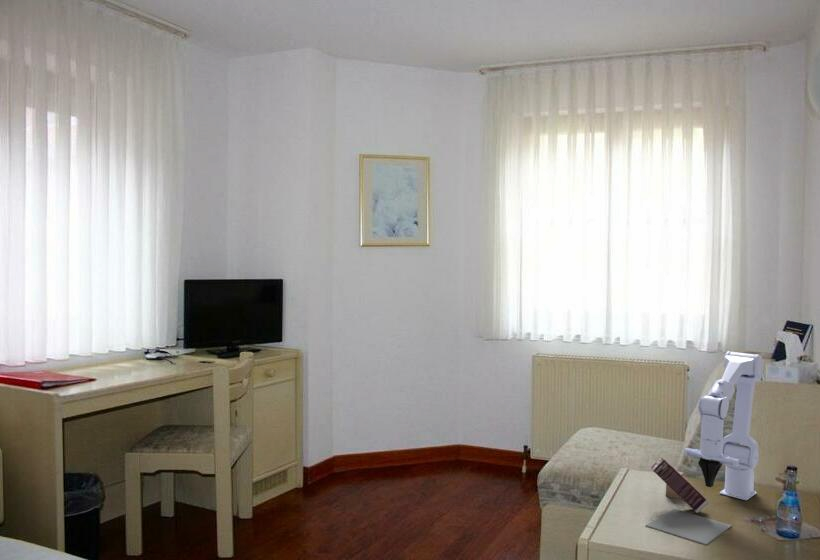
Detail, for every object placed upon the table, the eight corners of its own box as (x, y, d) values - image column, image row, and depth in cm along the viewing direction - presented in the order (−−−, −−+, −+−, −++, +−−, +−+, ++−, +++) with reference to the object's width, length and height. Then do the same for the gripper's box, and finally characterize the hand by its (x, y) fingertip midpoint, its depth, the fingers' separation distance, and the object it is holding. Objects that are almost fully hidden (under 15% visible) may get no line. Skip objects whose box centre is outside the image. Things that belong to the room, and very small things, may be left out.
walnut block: (668, 492, 211) (669, 469, 211) (682, 495, 209) (683, 472, 208) (665, 495, 207) (666, 473, 207) (679, 498, 205) (680, 475, 205)
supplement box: (709, 501, 189) (664, 459, 193) (697, 514, 189) (652, 471, 194) (704, 497, 197) (661, 456, 202) (692, 509, 197) (649, 468, 202)
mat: (673, 509, 196) (673, 508, 196) (731, 526, 185) (731, 525, 185) (645, 526, 183) (645, 525, 183) (706, 545, 172) (706, 543, 172)
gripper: (680, 435, 195) (678, 482, 195) (733, 446, 185) (731, 496, 185) (690, 431, 200) (688, 477, 201) (742, 442, 190) (740, 490, 190)
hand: (709, 486), depth 193 cm, fingers closed
